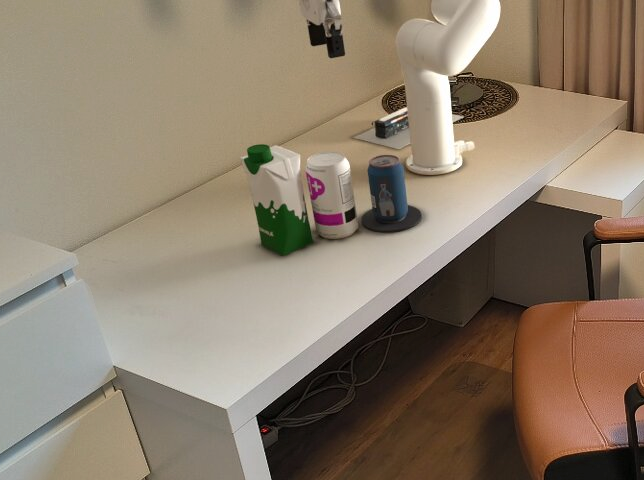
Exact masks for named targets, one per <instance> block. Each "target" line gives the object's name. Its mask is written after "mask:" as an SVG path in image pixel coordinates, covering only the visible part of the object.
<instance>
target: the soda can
mask: <svg viewBox="0 0 644 480" xmlns="http://www.w3.org/2000/svg"><path fill="white" fill-rule="evenodd" d="M368 163H369V165H368V167H367V172H366V173H367V180H368V187H369V193H370V202H371V207H372V208H371V209H373V214H374V216H375V217H376V218H377V219H378V220H379V221H380V222H383V223H395V222H399V221H401V220H403V219H404V218H405V216H406V214H407V212H408V205H409V204H408V199H407V198H408V197H407V188H406V181H405V171H404V165H402V163H401V162H400V158H399V157H398V156H396V155H392V154H380V155H376V156H374V157H372V158H371V159H369V161H368Z"/></svg>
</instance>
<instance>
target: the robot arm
mask: <svg viewBox="0 0 644 480" xmlns="http://www.w3.org/2000/svg"><path fill="white" fill-rule="evenodd" d="M298 2H299V9H300V14H301V16H302V17H303V18H305V19H306V20H305V21H306V24H307V31H308V37H309V43H310V46H311V47H318V46H324V45H325V46H326V50H327V57H328V58H329V59H336V58H340V57H341V58H342V57H345V56H346V49H345V42H344V36H343V34H344V33H343V25H342V14H341V13H342V12H341V6H340V0H298ZM430 10H431V13H432V16H433V17H434V18H435V19H436V20H437V22H436V21H433V20H428V19H425V18H412V19H409V20H407V21H405V22H404V23H402V25H401V26H400V27H399V29H398V30H397V32H396V33H397V34H396V37H395V47H396V49H395V50H396V55H397V58H398V61H399V65H400V69H401V72H402V77H403V82H404V91H405V101H406V102H405V103H406V107H407V111H408V121H409V130H410V139H411V143H410V145H411V146H410V149H411V155H409V156H408V157H407V158H406V159H405V167H406V168H407V170H409V171H410V172H412V173H414V174H418V175H423V176H437V175H438V176H439V175H443V174H449V173H452V172H453V171H456V170H458V169H459V168H460V167H462V165H463V156H462V155H463V152H464V153H465V152H469V151H473V150H475V148H476V147H475V143H474V141H473V140H472V141H471V140H470V141H467V142H465V141H464V140H463V139H461V140H458V141H455V140H454V139H455V137H454V125H453V123H452V114H453V112H452V101H451V87H450V82H449V77H453V76H456V75H458V74H460V73H462V71H464V70H465V69H466V68H467V67H468V65H469V64H470V63H471V62H472V61H473V59H474V58H475V56H477V54H478V52H479V51H480V50H481V49H482V47H483V46H484V45H485V44H486V42H487V41H488V39H489V38H490V37H491V36H492V34H493V33H494V32H495V30H496V28H497V26H498V23H499V20H500V15H501V3H500V0H431V2H430Z"/></svg>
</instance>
